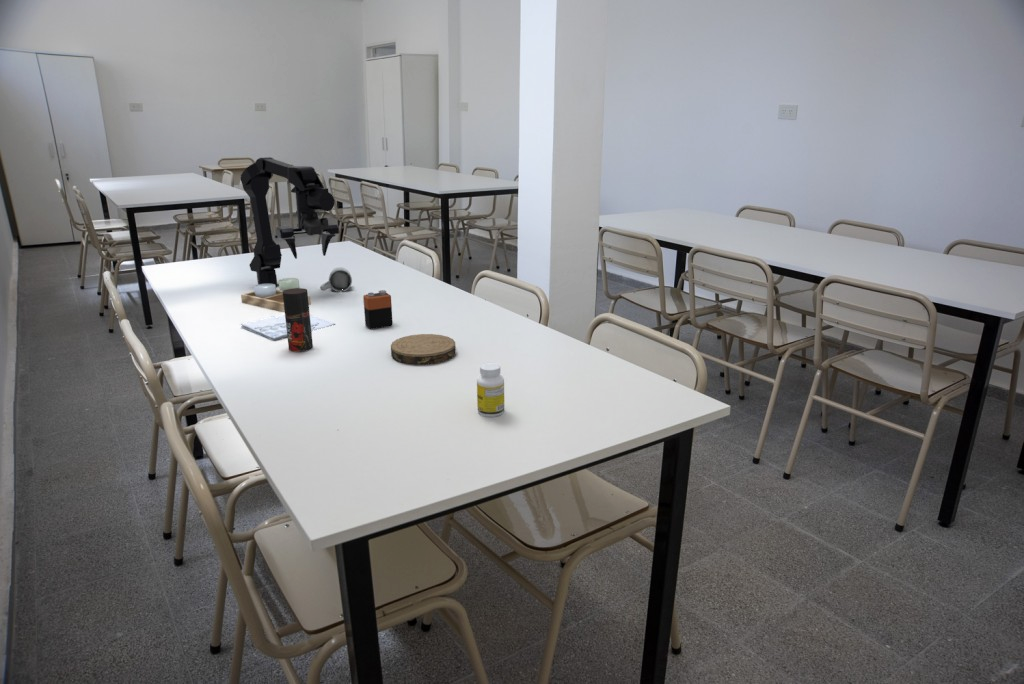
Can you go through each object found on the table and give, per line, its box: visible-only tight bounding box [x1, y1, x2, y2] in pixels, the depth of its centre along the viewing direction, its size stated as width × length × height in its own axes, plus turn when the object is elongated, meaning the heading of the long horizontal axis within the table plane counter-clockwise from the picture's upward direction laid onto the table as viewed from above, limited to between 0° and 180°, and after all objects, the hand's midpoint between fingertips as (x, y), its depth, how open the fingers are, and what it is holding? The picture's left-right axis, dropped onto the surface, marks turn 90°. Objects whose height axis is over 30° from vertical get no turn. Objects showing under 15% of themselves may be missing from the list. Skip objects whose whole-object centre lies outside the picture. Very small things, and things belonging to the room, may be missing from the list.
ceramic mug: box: [319, 266, 353, 292], centre depth 227 cm, size 11×8×8 cm
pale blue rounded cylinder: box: [253, 283, 277, 298], centre depth 211 cm, size 6×6×5 cm
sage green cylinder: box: [278, 277, 301, 291], centre depth 221 cm, size 6×6×5 cm
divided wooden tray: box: [240, 289, 312, 313], centre depth 209 cm, size 20×10×3 cm, turn 56°
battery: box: [362, 289, 394, 330], centre depth 186 cm, size 4×7×10 cm, turn 121°
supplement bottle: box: [476, 362, 505, 418], centre depth 131 cm, size 5×5×10 cm
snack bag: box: [240, 314, 336, 341], centre depth 188 cm, size 19×20×2 cm
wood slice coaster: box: [390, 333, 457, 366], centre depth 165 cm, size 16×16×3 cm
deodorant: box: [283, 287, 314, 353], centre depth 167 cm, size 6×6×15 cm
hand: (310, 257), depth 214 cm, fingers open, 9 cm apart
